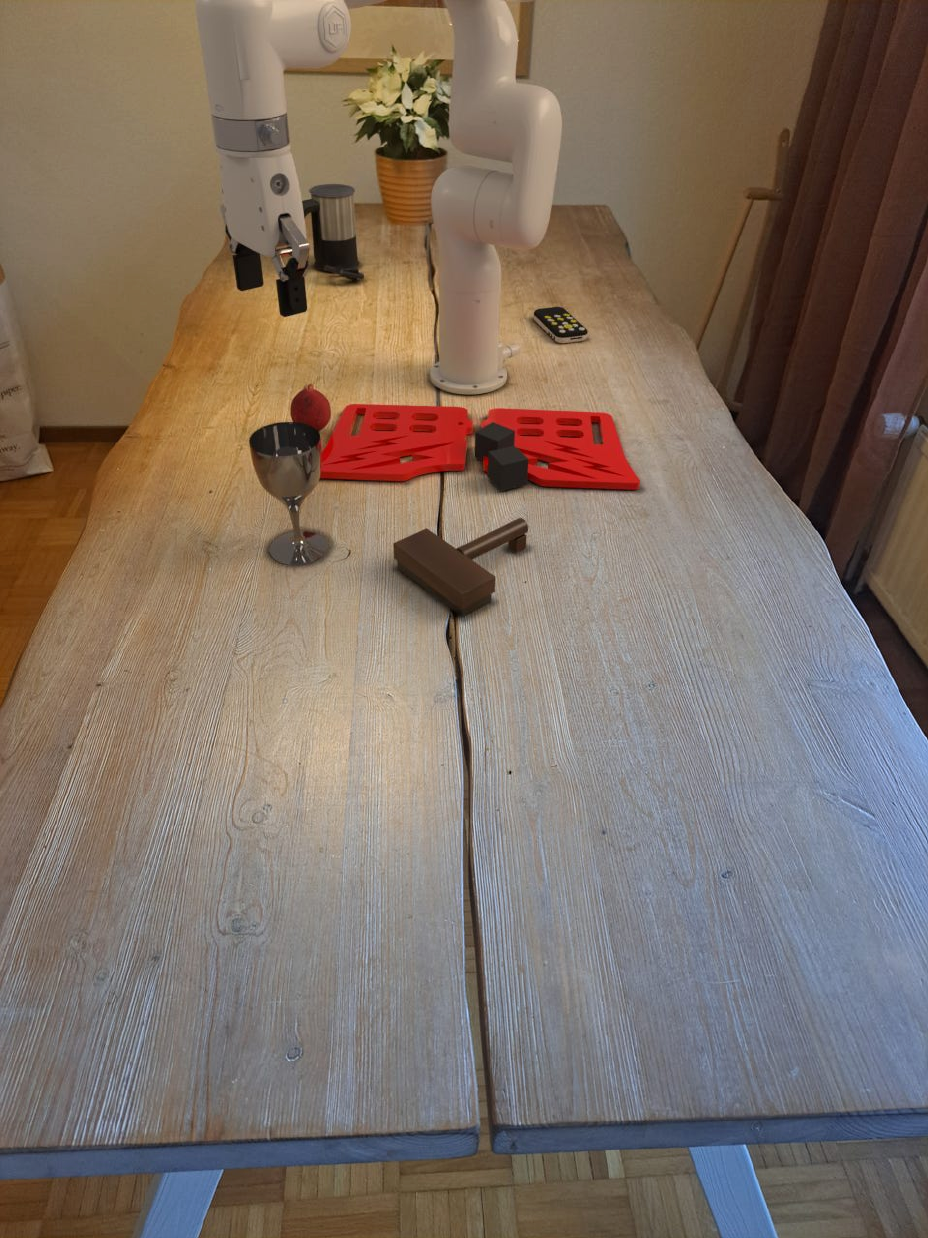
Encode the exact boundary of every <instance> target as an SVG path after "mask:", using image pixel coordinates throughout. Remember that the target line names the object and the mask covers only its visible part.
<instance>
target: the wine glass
mask: <svg viewBox="0 0 928 1238" xmlns="http://www.w3.org/2000/svg"><path fill="white" fill-rule="evenodd" d="M248 444H249V453H250V458H251V463H252V466H253V469H254V472H255V474H256V477H257V479H258V481H259V483H260V485H261V487H262V489H264V491H265V492H267V494H268V495H270V496H271V497H273V498H275V499H276V500H277V501H279V502H280V503H281V504H282V505H284V506H285V508H286V509H287V511H288V513H289V517H290V521H291V524H292V531H290V532H287V533H284V534H282V535H280V536H278V537H277V538H276V539H274V540H273V541H272V542H271V544H270V545H269V555H270V556H271V558H272V559H273V560H275V561H277V562H279V563H280V564H283V565H287V566H302V565H308V564H312V563H314V562H316V561H318V560H321V558H323V557H324V556H326V555H325V554H326V553H328V550H329V544H328V543H329V542H328V540H327V539H326V538H325V537H324V536H323V535H321V534H320V533H316V532H314V531H310V530H309V531H307V530H301V527H300V510H301V507H302V505H303V503H304V501H305V500H306V499H307V498H308V496H309V495H311V494H312V492H313V491H314V490H315V489H316V487H317V486H318V484H319V481H320V479H321V478H320V473H321V466H322V451H323V447H322V439H321V434H320V431H319V432H318V430H316V429H315V428H314V427H312V426H310V425H307V424H304V423H298V422H293V421H281V422H274V423H270V424H267V425H264V426H262V427H260V428H258V429H256V430H255V431H254V432H252V434H251V435H250V437H249V440H248Z"/></svg>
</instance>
